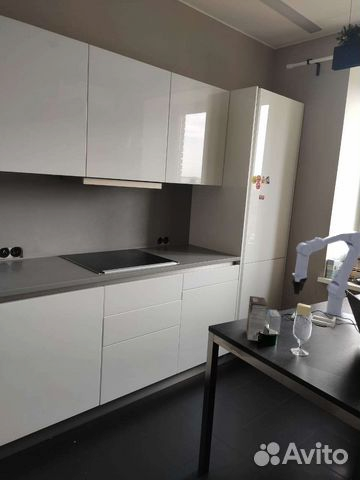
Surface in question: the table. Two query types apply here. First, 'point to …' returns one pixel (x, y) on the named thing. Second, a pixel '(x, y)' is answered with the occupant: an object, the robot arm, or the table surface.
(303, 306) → the tan rectangular block
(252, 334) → the coffee box
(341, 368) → the table surface
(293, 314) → the mat
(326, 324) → the dispenser
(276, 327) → the medicine box
